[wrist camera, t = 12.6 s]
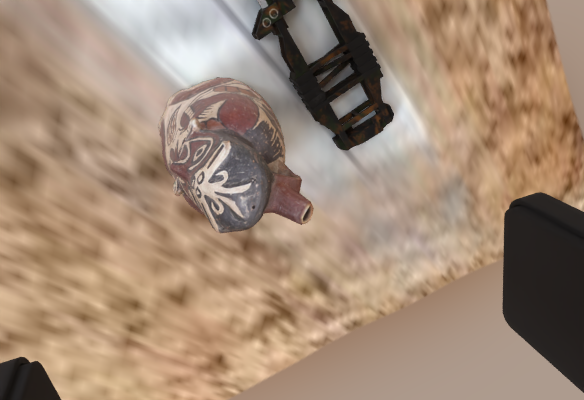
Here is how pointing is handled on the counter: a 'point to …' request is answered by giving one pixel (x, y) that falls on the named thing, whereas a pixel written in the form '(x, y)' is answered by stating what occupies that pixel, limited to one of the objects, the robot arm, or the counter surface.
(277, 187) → the figurine
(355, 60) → the dark flat slotted piece
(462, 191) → the counter surface
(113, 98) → the counter surface
